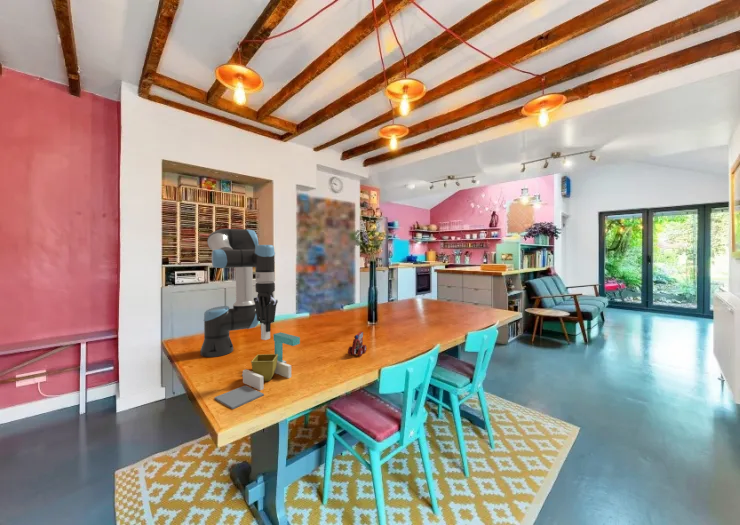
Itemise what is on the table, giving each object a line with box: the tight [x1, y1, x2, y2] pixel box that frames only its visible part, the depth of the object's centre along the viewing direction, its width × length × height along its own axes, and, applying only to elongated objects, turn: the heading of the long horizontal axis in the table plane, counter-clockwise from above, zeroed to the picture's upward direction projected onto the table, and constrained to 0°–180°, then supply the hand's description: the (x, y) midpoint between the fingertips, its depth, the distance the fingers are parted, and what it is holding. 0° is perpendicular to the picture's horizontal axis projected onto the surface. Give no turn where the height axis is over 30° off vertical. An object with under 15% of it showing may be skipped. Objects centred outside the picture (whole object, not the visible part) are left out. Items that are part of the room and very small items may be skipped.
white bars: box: [241, 359, 292, 391], centre depth 129 cm, size 18×24×5 cm
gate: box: [273, 331, 301, 362], centre depth 137 cm, size 14×4×14 cm, turn 55°
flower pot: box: [250, 353, 278, 382], centre depth 124 cm, size 9×9×9 cm
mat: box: [213, 384, 265, 410], centre depth 109 cm, size 12×12×1 cm
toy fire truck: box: [347, 331, 367, 357], centre depth 155 cm, size 7×12×10 cm, turn 160°
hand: (265, 338), depth 124 cm, fingers closed
